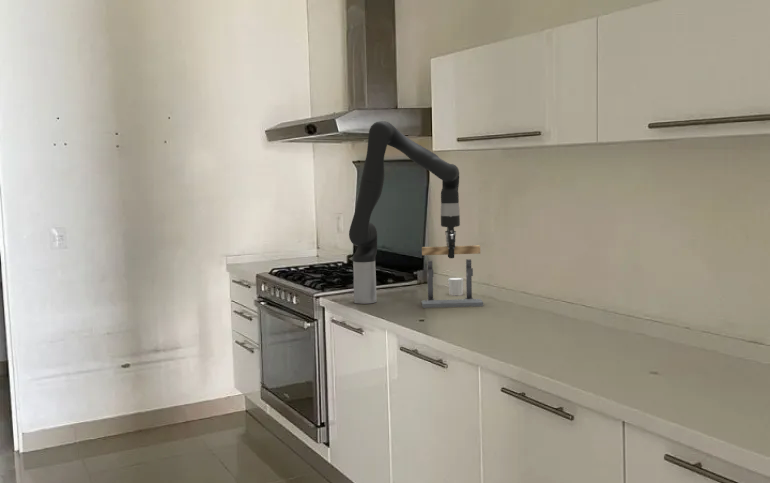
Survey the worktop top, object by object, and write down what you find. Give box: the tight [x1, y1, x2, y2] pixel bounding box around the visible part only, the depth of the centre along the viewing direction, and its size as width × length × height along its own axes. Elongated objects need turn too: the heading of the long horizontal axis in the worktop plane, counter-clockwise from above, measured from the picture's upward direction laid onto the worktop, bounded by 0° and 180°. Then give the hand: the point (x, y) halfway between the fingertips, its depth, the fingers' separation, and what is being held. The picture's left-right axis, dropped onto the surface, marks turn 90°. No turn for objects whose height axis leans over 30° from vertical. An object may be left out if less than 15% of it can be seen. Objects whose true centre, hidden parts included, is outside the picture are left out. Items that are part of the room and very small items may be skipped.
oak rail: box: [421, 244, 481, 256], centre depth 303 cm, size 23×3×3 cm, turn 90°
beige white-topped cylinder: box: [447, 277, 465, 297], centre depth 329 cm, size 7×7×7 cm
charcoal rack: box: [426, 258, 474, 300], centre depth 312 cm, size 19×6×17 cm, turn 90°
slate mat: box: [421, 298, 484, 309], centre depth 305 cm, size 24×8×2 cm, turn 90°
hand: (451, 257), depth 303 cm, fingers closed on oak rail, 3 cm apart
